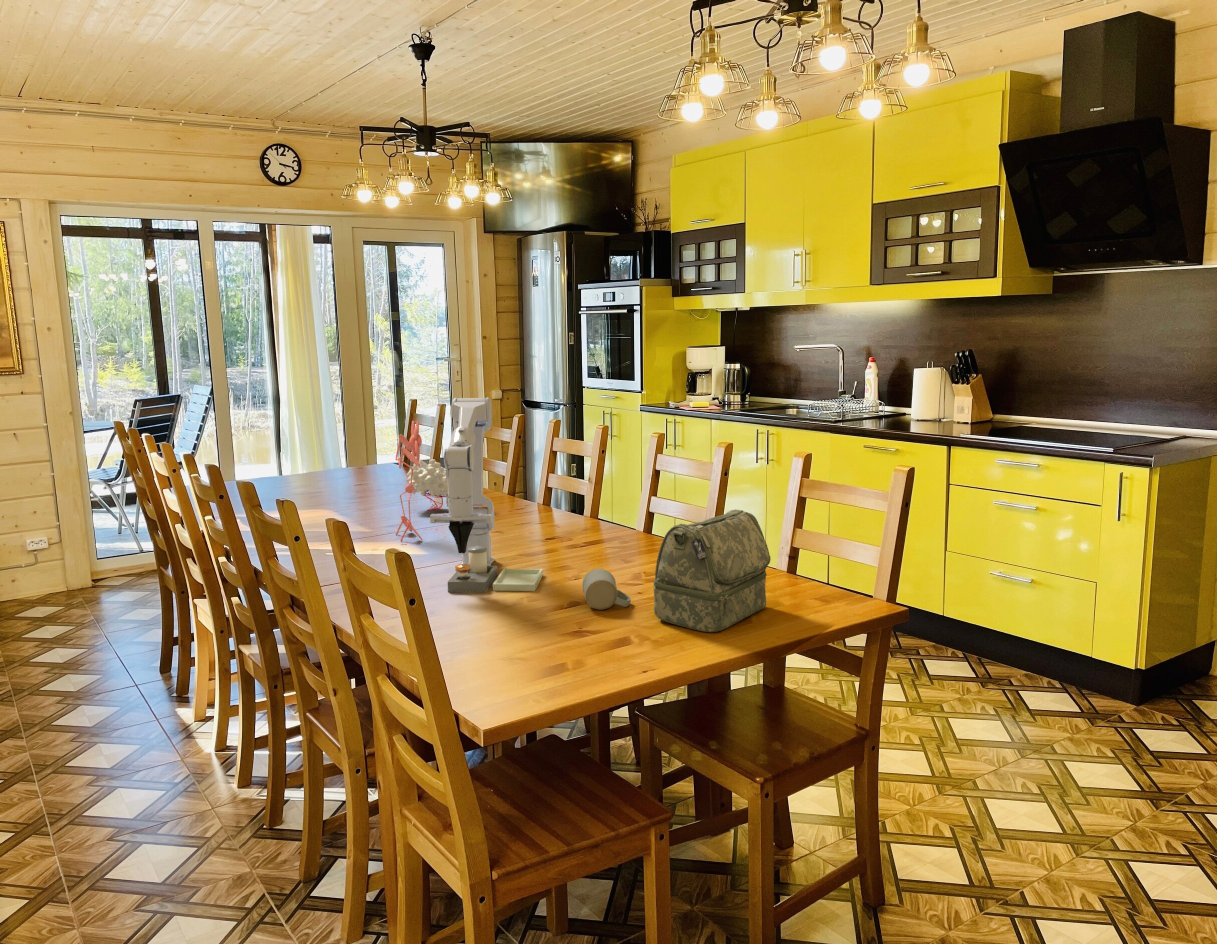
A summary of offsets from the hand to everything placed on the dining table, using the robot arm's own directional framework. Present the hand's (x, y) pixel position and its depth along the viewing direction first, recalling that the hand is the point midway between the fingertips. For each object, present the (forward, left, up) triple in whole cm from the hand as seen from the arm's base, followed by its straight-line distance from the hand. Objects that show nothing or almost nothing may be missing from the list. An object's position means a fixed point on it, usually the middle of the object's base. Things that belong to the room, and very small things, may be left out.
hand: (462, 552), depth 215 cm
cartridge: (-8, +2, -9) cm, 12 cm away
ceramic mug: (+12, +35, -9) cm, 38 cm away
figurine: (-55, -26, -9) cm, 61 cm away
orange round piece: (0, 0, -7) cm, 7 cm away
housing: (-4, +1, -9) cm, 10 cm away
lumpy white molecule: (-95, -29, -9) cm, 99 cm away
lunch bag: (+18, +58, -9) cm, 62 cm away
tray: (-5, +12, -9) cm, 16 cm away
